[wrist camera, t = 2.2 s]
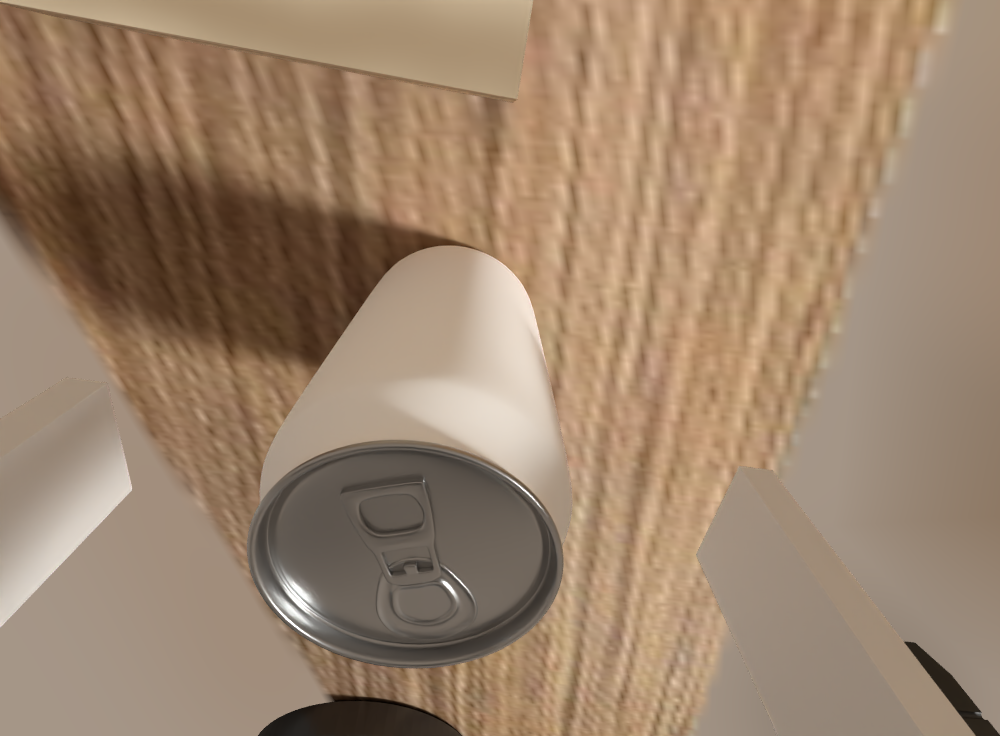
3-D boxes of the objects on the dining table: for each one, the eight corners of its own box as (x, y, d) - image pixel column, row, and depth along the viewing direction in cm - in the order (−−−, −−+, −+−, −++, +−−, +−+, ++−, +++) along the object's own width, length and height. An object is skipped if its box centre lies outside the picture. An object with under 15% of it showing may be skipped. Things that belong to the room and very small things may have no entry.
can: (395, 406, 21) (298, 699, 10) (348, 259, 18) (148, 456, 8) (544, 381, 21) (602, 660, 10) (520, 227, 18) (565, 388, 7)
